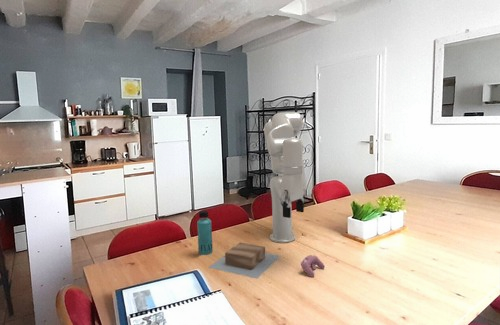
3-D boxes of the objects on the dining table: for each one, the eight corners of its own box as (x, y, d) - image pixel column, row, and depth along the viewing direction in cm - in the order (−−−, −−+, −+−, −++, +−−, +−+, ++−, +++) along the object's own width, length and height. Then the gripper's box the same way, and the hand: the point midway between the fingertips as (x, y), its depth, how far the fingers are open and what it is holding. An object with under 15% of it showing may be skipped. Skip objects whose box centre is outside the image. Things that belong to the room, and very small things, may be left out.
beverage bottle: (199, 259, 140) (196, 214, 138) (197, 253, 147) (195, 210, 144) (214, 257, 142) (212, 212, 140) (211, 251, 148) (209, 209, 146)
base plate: (236, 250, 148) (236, 247, 148) (281, 259, 138) (281, 255, 138) (208, 270, 129) (208, 267, 129) (257, 282, 119) (257, 278, 118)
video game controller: (316, 269, 131) (309, 253, 132) (326, 267, 128) (318, 250, 129) (304, 279, 123) (297, 261, 124) (314, 277, 120) (306, 259, 121)
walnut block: (240, 253, 141) (240, 242, 141) (265, 258, 136) (264, 246, 135) (225, 264, 131) (225, 252, 130) (251, 270, 125) (251, 257, 125)
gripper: (295, 168, 134) (296, 208, 136) (271, 173, 121) (272, 218, 122) (312, 169, 129) (312, 211, 131) (288, 174, 116) (289, 221, 117)
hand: (293, 214), depth 126 cm, fingers open, 9 cm apart
